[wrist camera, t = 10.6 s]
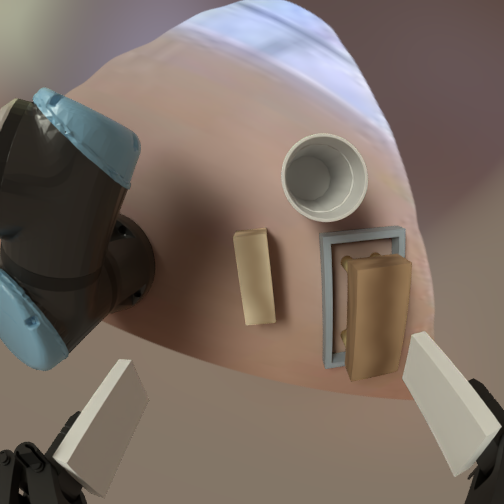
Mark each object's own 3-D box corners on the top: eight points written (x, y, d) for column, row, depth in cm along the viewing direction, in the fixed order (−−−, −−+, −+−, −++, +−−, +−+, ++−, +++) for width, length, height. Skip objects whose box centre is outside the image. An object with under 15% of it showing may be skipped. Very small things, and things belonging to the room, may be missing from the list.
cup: (263, 170, 34) (262, 165, 23) (313, 136, 33) (335, 117, 21) (298, 219, 36) (314, 239, 24) (346, 186, 34) (383, 191, 23)
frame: (322, 359, 41) (327, 378, 37) (319, 233, 36) (327, 241, 31) (389, 347, 40) (399, 364, 36) (397, 225, 35) (414, 232, 30)
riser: (247, 311, 40) (245, 325, 36) (236, 231, 37) (232, 237, 33) (275, 309, 39) (275, 322, 35) (266, 227, 36) (266, 233, 32)
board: (344, 364, 36) (351, 381, 32) (347, 259, 32) (357, 270, 28) (387, 355, 35) (397, 371, 31) (397, 253, 31) (411, 262, 27)
